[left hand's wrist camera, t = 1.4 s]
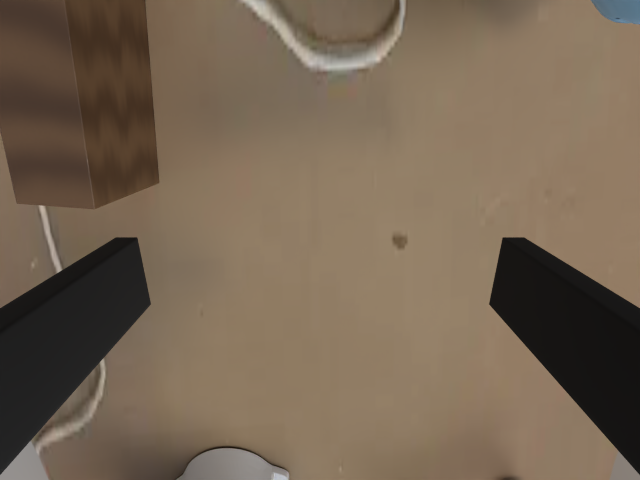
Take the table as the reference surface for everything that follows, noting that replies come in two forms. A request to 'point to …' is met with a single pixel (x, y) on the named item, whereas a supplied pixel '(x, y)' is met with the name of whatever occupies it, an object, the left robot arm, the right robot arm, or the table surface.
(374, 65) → the table surface
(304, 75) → the table surface
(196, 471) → the right robot arm
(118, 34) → the box
